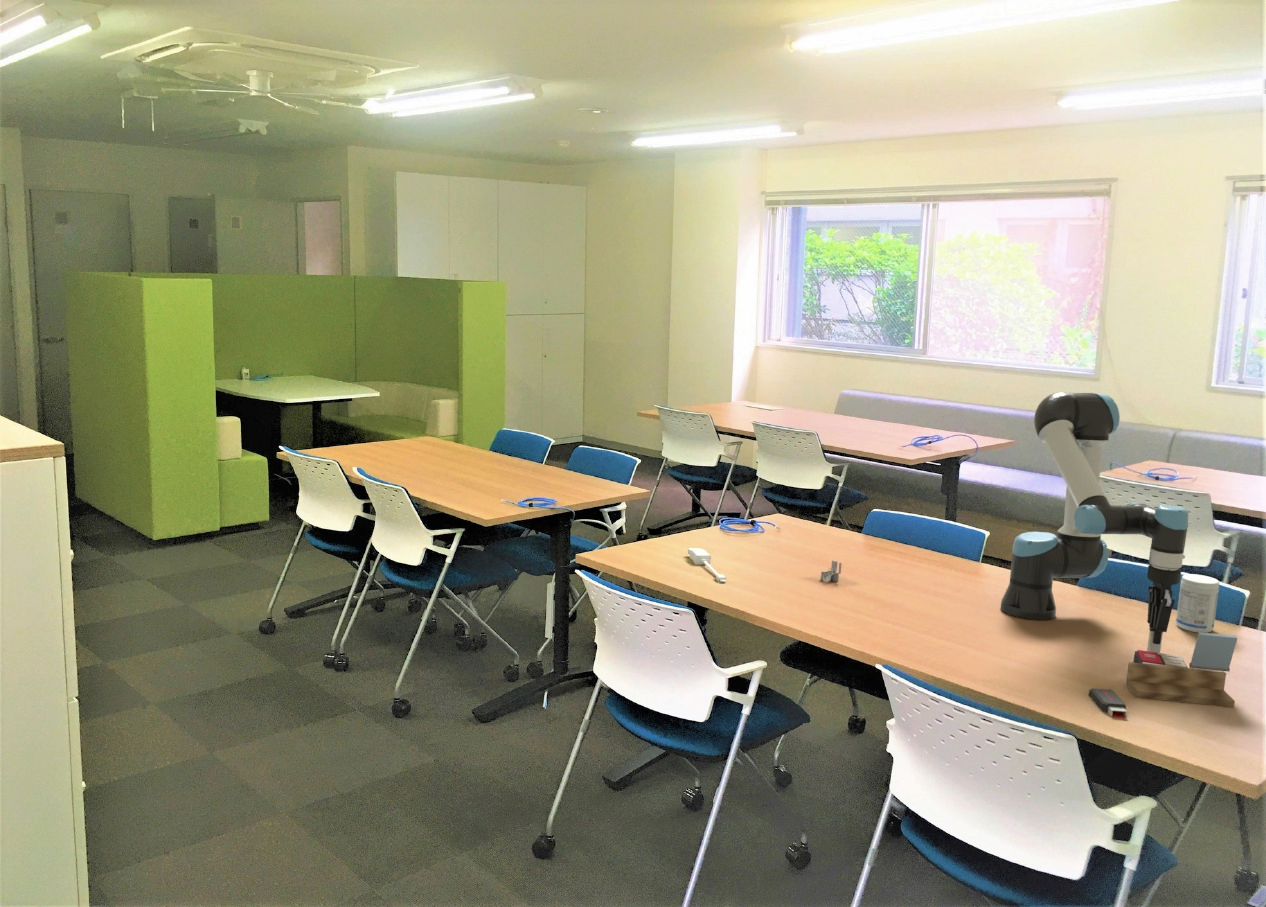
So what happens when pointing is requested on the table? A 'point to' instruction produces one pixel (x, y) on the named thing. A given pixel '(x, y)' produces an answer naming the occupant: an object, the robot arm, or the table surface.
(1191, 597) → the supplement tub
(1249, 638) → the table surface
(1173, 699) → the wooden l-shaped bracket
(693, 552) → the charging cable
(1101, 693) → the usb drive
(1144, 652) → the calculator
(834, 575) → the architectural model
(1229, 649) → the light blue flat tile
